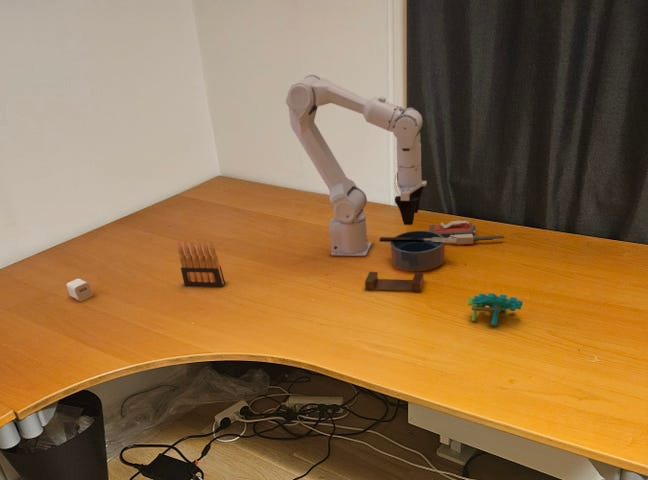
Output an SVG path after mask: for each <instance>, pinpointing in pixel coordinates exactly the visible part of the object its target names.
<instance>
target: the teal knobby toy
mask: <svg viewBox="0 0 648 480" xmlns="http://www.w3.org/2000/svg"><path fill="white" fill-rule="evenodd" d="M507 297H508V295H507V294H499V296H498V295H496V293H494V292H490V293H488V294H485V293H479V294H478V295H474V296H473V298H472V297H469V298H468V301H467V305H468V306H471V311H472V317H471V321H472V322H476V320H477V319H476V318H477V313H478V312H489V313H490V312H491V313H492V312H493V314H492V319H491V326H492V327H497V325H498V318H499V313H500V312H507V310H509V311H512V312H514V311H516V310H521V309H522V307H523V302H524V301H522V300H518V298H517V297H514V296H511V297H509V298H507Z"/></svg>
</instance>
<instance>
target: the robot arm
mask: <svg viewBox="0 0 648 480" xmlns="http://www.w3.org/2000/svg"><path fill="white" fill-rule="evenodd" d="M386 100H387V98H386V97H384V96H382V95H381V96H380V97H378V96H375V97H372V98H371V99H368V98H366V97H363V96H361V95H360V94H357V93H355V92H353V91H351V90H348V89H347V88H344V87H343V86H341V85H338V84H336V83H335V82H332V81H331V80H329V79H328V78H325V77H320V76H318V75H317V74H309V75H306V76H305V77H304V78H303V79H301V80H299V81H298V82H295V83H293V84H292V85H291V86H290V87H289V90H288V91H287V96H286V99H285V103H286V105H287V107H288V112H289V122H290V123H289V124H290V127H291V129H292V131H293V133H294V134H295V136H296V138H297V139H298V141H299V143H300V144H301V146H302V148H303V149H304V151H305V152H306V154H307V155H308V157H309V160H311V162H312V164H313V166H314V168H315V169H316V171H317V172H318V174H319V175H320V177H321V179H322V180H323V182H324V184H325V185H326V187H327V189H328V191H329V203H330V204H331V206H332V208H333V214H334V217H332V218H331V219H330V221H329V230H328V232H329V240H330V250H331V253H330V255H331V256H335V257H337V256H338V257H339V256H340V257H343V256H344V257H348V256H349V257H366V256H367V254H368V253H369V251H370V249H371V247H372V244H373V243H372V241H368V233H367V220H366V213H365V211H364V208H365V207H366V206H367V202H368V198H367V194H366V192H364V190H363V189H361V188H359V187H358V186H357V184H356V182H355V181H354V180H352V179H350V178H348V177H347V175H346V174H345V172H344V171H343V168H342V167H341V165H340V164H339V161H338V160H337V159H336V157H335V155H334V153H333V152H332V150H331V148H330V147H329V145H328V144H327V141H326V140H325V138H324V137H323V134H322V133H321V131H320V130H319V128H318V126H317V125H316V123H315V119H316V115H317V111H318V109H319V107H322V106H326V105H329V104H334V105H336V106H339V107H341V108H343V109H347V110H350V111H353V112H355V113H358V114H361V115H363V118H364V120H365V121H366V123H369V124H371V125H374V126H376V127H378V128H380V129H382V130H385V131H388V132H389V133H393V135H394V137H395V138H396V161H397V162H396V166H397V167H396V168H397V183H396V184H397V185H396V187H397V189H398V191H399V192H400V193H399V195H396V196H395V197H394V203H395V204H396V206H397V208H398V210H399V213H400V215H401V221H402V223H403V225H404V226H412V225H413V224H414V220H415V214H418V212H419V208H420V204H421V203H420V202H421V196H422V193H423V190H424V188H425V187H426V186H427V185H428V184H427V183H428V181H427V180H422V179H423V178H422V177H423V176H422V175H423V174H422V173H423V172H422V143H421V132H420V130H421V129H422V127H423V122H424V121H423V115H422V114H421V113H420V112H419V111H418V110H416V109H415V108H414V107H407V108H405V106H404V105H397V104H395V103H392V102H390V101H386Z"/></svg>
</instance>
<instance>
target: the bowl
mask: <svg viewBox="0 0 648 480" xmlns="http://www.w3.org/2000/svg"><path fill="white" fill-rule="evenodd" d="M394 237H408V238H433V237H441V238H444V237H443V236H442V235H440V234H438V233H435V232H431V231H430V230H410V231H405V232H402V233H399V234H397V235H395V236H394ZM390 258H391V260H390V261H391V263H392V265H393V266H394V267H395V268H397V269H399V270H403V271H408V272H423V271H424V272H425V271H429V270H433V269H436V268H437V267H440V266H441V265H442V264H443V263H444V262H445V259H446V243H431V242H390Z"/></svg>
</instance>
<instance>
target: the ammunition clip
mask: <svg viewBox="0 0 648 480" xmlns="http://www.w3.org/2000/svg"><path fill="white" fill-rule="evenodd" d="M176 246H177V247H176V248H177V252H178V253H177V254H178V259H179V262H180V271H181V276H182V280H183V285H184V287H204V288H205V287H206V288H207V287H208V288H223V287H224V286H225V284H226V280H225V277H224V273H223V270H222V266H221V265H220V263H219V262H220V261H219V257H218V254H217V252H216V249H215V246H214V243H213V242H212V241H211V240H210V241H209V246H208V244H207V242H206V241H205V240H204V241H203V242H202V245H201V243H200V242H199V240H197V241H196V246H195V244H194V242H193V241H192V240H190V242H189V244H188V243H187V241H185V240H183V246H182V244H181V242H180V241H179V240H177V241H176Z"/></svg>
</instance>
